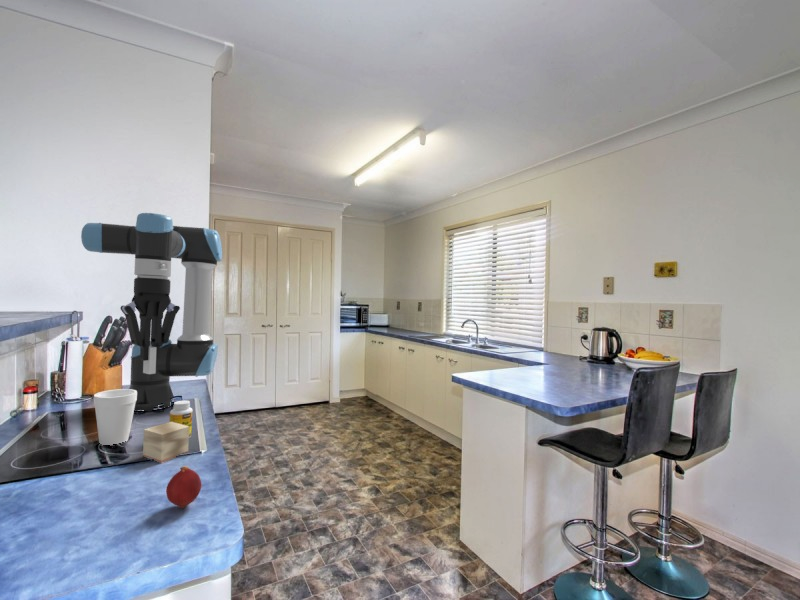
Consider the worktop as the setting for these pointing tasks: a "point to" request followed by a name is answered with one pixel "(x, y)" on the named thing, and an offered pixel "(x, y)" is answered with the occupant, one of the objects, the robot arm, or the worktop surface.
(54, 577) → the worktop surface
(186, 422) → the supplement bottle
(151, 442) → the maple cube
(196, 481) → the onion
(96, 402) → the foam cup
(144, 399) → the robot arm
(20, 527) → the worktop surface
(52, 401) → the worktop surface
